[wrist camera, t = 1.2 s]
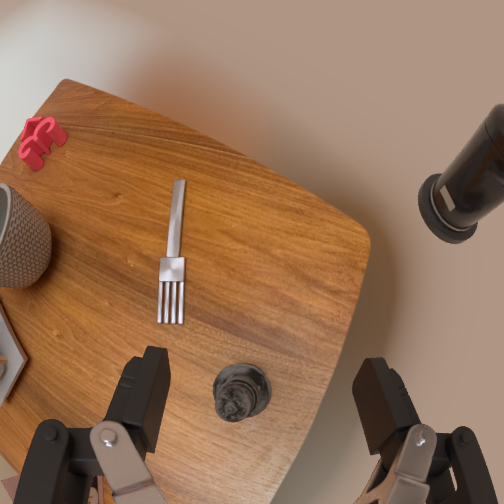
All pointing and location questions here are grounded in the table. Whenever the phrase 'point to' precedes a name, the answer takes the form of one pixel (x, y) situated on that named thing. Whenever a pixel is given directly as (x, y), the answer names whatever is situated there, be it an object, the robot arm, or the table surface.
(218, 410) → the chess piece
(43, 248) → the planter
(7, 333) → the desk lamp
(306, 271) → the table surface
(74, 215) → the table surface
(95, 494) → the greeting card
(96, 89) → the table surface
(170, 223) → the fork
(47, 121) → the letters
